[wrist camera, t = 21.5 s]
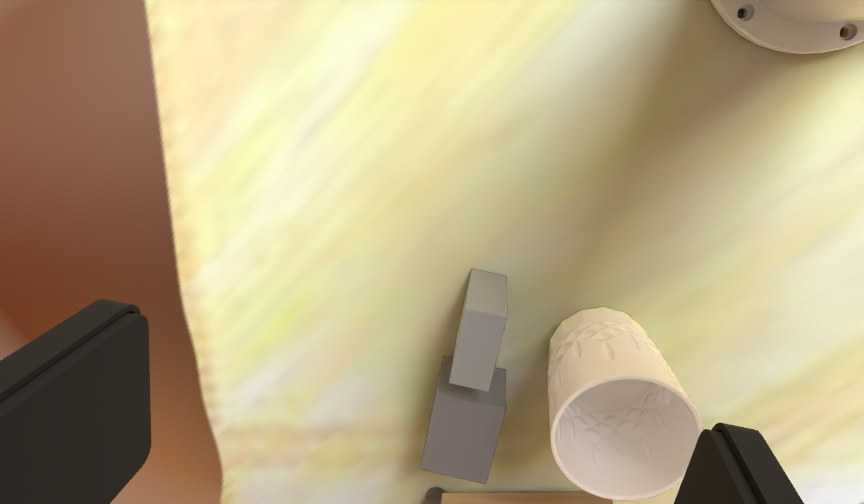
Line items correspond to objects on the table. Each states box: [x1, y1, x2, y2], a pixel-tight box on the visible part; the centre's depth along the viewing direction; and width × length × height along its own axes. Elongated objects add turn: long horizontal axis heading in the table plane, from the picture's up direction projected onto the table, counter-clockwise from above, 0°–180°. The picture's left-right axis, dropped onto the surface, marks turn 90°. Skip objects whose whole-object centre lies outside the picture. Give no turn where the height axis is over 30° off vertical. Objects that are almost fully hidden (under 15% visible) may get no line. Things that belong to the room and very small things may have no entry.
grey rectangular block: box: [420, 356, 506, 484], centre depth 41 cm, size 4×6×5 cm
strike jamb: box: [449, 269, 507, 392], centre depth 38 cm, size 2×5×6 cm, turn 169°
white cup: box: [548, 307, 703, 501], centre depth 36 cm, size 8×8×10 cm
